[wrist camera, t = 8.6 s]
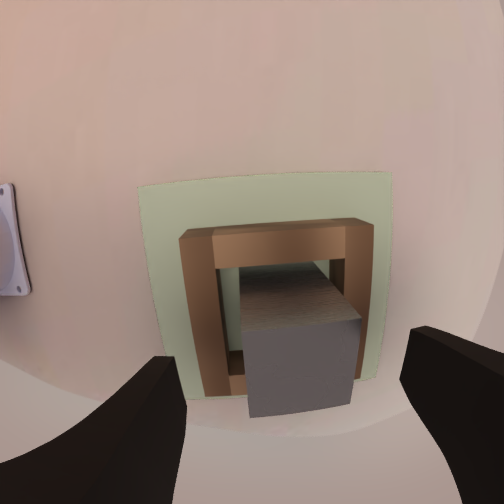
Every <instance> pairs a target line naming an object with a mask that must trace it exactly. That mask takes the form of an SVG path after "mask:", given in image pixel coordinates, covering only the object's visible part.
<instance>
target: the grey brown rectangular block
mask: <svg viewBox="0 0 504 504" xmlns="http://www.w3.org/2000/svg"><path fill="white" fill-rule="evenodd" d="M239 290H240V316H241V335H242V346H243V356H244V366H245V376H246V386H247V396H248V405H249V415H250V418H254V417H266V416H275V415H284V414H292V413H300V412H306V411H313V410H319V409H325V408H330V407H336V406H341V405H346V404H350V400H351V395H352V389H353V383H354V377H355V370H356V364H357V357H358V349H359V341H360V333H361V324H362V317H361V316H360V315H359V314H358V313H357V311H356V310H355V309H354V308H353V307H352V305H351V304H350V303H349V302H348V301H347V300H346V298H345V297H344V296H343V295H342V294H341V293H340V292H339V290H338V289H337V288H336V287H335V286H334V285H333V284H332V282H331V281H330V280H329V279H328V278H327V277H326V276H325V274H324V273H323V272H322V271H321V270H320V269H319V268H318V266H317V265H316V264H315V263H314V262H313V261H307V262H295V263H284V264H272V265H259V266H247V267H239Z"/></svg>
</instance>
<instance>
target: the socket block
mask: <svg viewBox="0 0 504 504" xmlns="http://www.w3.org/2000/svg"><path fill="white" fill-rule="evenodd" d="M137 188H138V198H139V208H140V217H141V225H142V232H143V240H144V247H145V253H146V260H147V266H148V272H149V278H150V283H151V289H152V294H153V299H154V305H155V309H156V314H157V319H158V324H159V328H160V333H161V337H162V341H163V346H164V350H165V354H166V356H174V357H175V361H176V365H177V370H178V374H179V378H180V382H181V386H182V390H183V394H184V397H185V400H195V399H227V398H243V397H248V396H247V386H246V376H245V366H244V356H243V346H242V335H241V316H240V290H239V267H247V266H259V265H272V264H284V263H295V262H307V261H313V262H314V263H315V264H316V265H317V266H318V268H319V269H320V270H321V271H322V272H323V273H324V274H325V276H326V277H327V278H328V279H329V280H330V281H331V282H332V284H333V285H334V286H335V287H336V288H337V289H338V290H339V292H340V293H341V294H342V295H343V296H344V297H345V298H346V300H347V301H348V302H349V303H350V304H351V305H352V307H353V308H354V309H355V310H356V311H357V313H358V314H359V315H360V316H361V317H362V324H361V333H360V341H359V349H358V357H357V364H356V370H355V377H354V382H358V381H363V380H367V379H371V378H375V377H376V372H377V367H378V362H379V356H380V351H381V345H382V338H383V332H384V325H385V317H386V309H387V300H388V291H389V280H390V267H391V250H392V221H393V191H392V172H307V173H281V174H262V175H247V176H233V177H221V178H210V179H199V180H190V181H181V182H172V183H164V184H156V185H148V186H141V187H137Z"/></svg>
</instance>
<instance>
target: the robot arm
mask: <svg viewBox="0 0 504 504" xmlns="http://www.w3.org/2000/svg"><path fill="white" fill-rule="evenodd" d="M3 190H4V194H3ZM20 288H21V289H20ZM30 290H31V289H30V285H29V281H28V277H27V272H26V268H25V264H24V259H23V254H22V249H21V244H20V238H19V232H18V226H17V219H16V211H15V202H14V192H13V186H12V184H11V183H5V184H2V185H0V296H26V295H28V294H29V293H30ZM399 380H400V382H401V384H402V386H403V389H404V391H405V393H406V395H407V397H408V399H409V401H410V403H411V405H412V406H413V408H414V409H415V411H416V413H417V414H418V416H419V417H420V419H421V420H422V422H423V423H424V425H425V426H426V428H427V429H428V431H429V432H430V434H431V435H432V437H433V438H434V440H435V442H436V443H437V445H438V446H439V448H440V449H441V451H442V453H443V455H444V457H445V459H446V461H447V463H448V465H449V467H450V470H451V472H452V475H453V477H454V480H455V482H456V485H457V488H458V491H459V493H460V497H461V500H462V503H463V504H504V353H501V352H498V351H495V350H492V349H489V348H487V347H484V346H481V345H478V344H476V343H473V342H471V341H468V340H465V339H463V338H460V337H458V336H455V335H453V334H450V333H447V332H444V331H442V330H439V329H436V328H432V327H429V326H422V327H418V328H413V329H411V330H410V335H409V340H408V345H407V349H406V354H405V358H404V362H403V366H402V371H401V374H400V378H399ZM186 415H187V405H186V401H185V397H184V394H183V390H182V386H181V382H180V378H179V374H178V370H177V365H176V361H175V357H174V356H154V357H153V358H152V359H151V360H150V361H148V362H147V363H146V364H145V365H144V366H143V367H142V368H141V369H140V370H139V371H138V372H137V373H136V374H135V375H134V376H133V377H132V378H131V379H130V380H129V381H128V382H126V383H125V384H124V385H123V386H122V387H121V388H120V389H119V390H118V391H117V392H116V393H115V394H114V395H112V396H111V397H110V398H109V399H108V400H107V401H105V402H104V403H103V404H102V405H100V406H99V407H98V408H97V409H96V410H94V411H93V412H92V413H91V414H90V415H88V416H87V417H86V418H85V419H83V420H82V421H80V422H79V423H78V424H76V425H75V426H73V427H72V428H70V429H69V430H67V431H66V432H64V433H63V434H61V435H59V436H58V437H56V438H55V439H53V440H51V441H50V442H47V443H45V444H44V445H42V446H39V447H37V448H36V449H33V450H32V451H30V452H28V453H25V454H23V455H21V456H18V457H16V458H14V459H11V460H8V461H5V462H2V463H0V504H172V500H173V493H174V487H175V483H176V478H177V472H178V468H179V463H180V458H181V453H182V448H183V443H184V438H185V430H186Z"/></svg>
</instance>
